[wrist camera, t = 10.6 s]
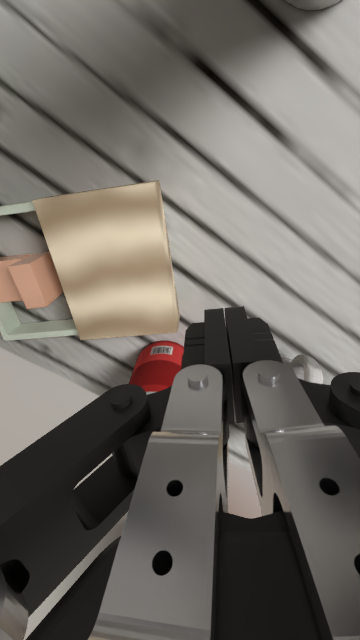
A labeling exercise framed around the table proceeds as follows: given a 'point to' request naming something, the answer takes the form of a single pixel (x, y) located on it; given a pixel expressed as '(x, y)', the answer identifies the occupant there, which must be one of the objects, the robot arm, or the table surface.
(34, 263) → the tile front
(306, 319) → the table surface
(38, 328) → the tray
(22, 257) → the tile back
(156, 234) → the plate
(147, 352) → the canned food
